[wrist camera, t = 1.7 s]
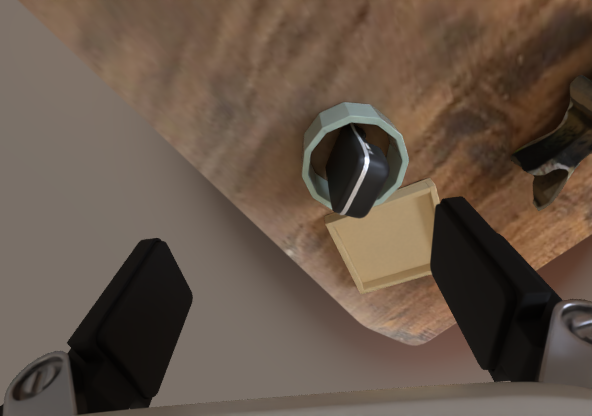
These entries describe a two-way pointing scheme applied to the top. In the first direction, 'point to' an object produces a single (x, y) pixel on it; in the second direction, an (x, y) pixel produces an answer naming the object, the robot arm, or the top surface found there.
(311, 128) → the pen cup
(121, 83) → the top surface
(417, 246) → the tray
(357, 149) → the battery charger
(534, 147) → the sculpture
